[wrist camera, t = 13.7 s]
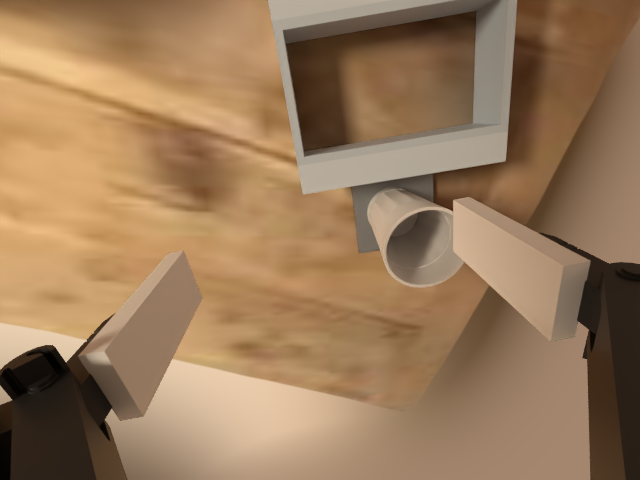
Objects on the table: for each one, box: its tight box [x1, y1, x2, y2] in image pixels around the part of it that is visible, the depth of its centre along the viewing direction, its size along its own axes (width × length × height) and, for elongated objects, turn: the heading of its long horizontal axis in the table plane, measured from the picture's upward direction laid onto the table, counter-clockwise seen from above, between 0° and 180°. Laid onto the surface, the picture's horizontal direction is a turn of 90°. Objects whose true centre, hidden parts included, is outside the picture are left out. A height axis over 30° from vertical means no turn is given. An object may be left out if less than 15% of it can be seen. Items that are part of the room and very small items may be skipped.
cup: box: [367, 187, 464, 287], centre depth 33 cm, size 8×8×12 cm
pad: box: [351, 173, 434, 253], centre depth 39 cm, size 10×10×1 cm
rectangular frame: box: [268, 0, 517, 194], centre depth 32 cm, size 19×22×6 cm
